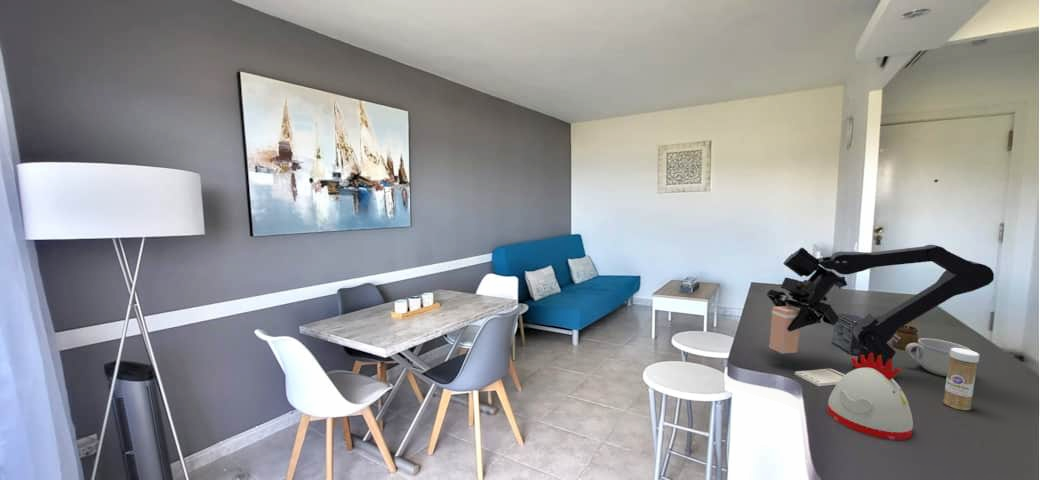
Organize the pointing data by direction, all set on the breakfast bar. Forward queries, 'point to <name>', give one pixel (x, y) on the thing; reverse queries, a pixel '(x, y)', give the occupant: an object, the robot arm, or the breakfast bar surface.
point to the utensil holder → (905, 337)
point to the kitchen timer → (872, 401)
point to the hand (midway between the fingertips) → (780, 327)
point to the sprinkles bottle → (960, 378)
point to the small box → (846, 334)
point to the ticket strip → (821, 376)
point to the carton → (783, 330)
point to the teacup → (933, 354)
